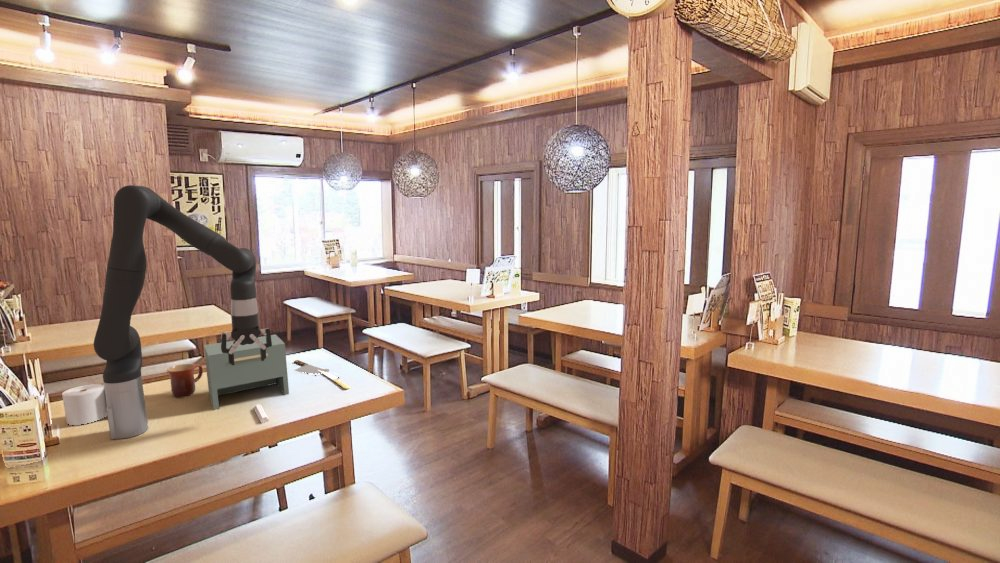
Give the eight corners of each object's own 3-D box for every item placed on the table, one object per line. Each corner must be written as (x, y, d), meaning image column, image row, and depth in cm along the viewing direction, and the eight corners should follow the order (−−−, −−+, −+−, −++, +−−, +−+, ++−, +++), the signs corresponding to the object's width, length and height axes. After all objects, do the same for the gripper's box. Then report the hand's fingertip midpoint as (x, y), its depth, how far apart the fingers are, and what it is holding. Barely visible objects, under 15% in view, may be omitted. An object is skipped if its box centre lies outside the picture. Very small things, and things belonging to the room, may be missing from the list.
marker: (257, 409, 174) (266, 425, 161) (251, 407, 173) (259, 423, 160) (261, 402, 175) (270, 417, 162) (254, 400, 174) (263, 415, 161)
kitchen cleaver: (280, 365, 218) (302, 358, 225) (280, 367, 218) (302, 360, 225) (309, 378, 202) (331, 370, 209) (309, 380, 202) (332, 372, 209)
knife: (325, 365, 217) (314, 366, 214) (355, 385, 190) (343, 387, 187) (325, 368, 217) (314, 369, 214) (355, 388, 190) (343, 390, 187)
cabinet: (214, 410, 172) (208, 355, 169) (209, 395, 185) (203, 345, 182) (289, 394, 185) (285, 343, 182) (279, 381, 198) (275, 334, 195)
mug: (179, 400, 181) (176, 372, 179) (164, 396, 185) (161, 369, 183) (211, 389, 191) (208, 363, 190) (196, 386, 195) (193, 360, 194)
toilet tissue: (70, 416, 168) (65, 387, 167) (115, 409, 174) (111, 381, 173) (63, 428, 159) (58, 398, 158) (110, 420, 165) (106, 390, 164)
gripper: (220, 317, 152) (224, 369, 154) (271, 312, 160) (274, 361, 162) (217, 312, 158) (221, 363, 161) (267, 308, 166) (269, 356, 168)
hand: (248, 362), depth 161 cm, fingers open, 8 cm apart
